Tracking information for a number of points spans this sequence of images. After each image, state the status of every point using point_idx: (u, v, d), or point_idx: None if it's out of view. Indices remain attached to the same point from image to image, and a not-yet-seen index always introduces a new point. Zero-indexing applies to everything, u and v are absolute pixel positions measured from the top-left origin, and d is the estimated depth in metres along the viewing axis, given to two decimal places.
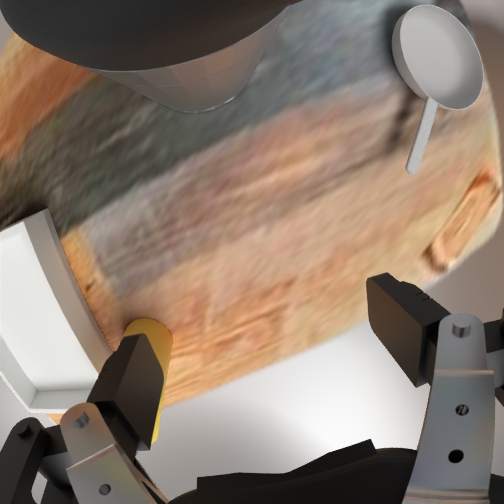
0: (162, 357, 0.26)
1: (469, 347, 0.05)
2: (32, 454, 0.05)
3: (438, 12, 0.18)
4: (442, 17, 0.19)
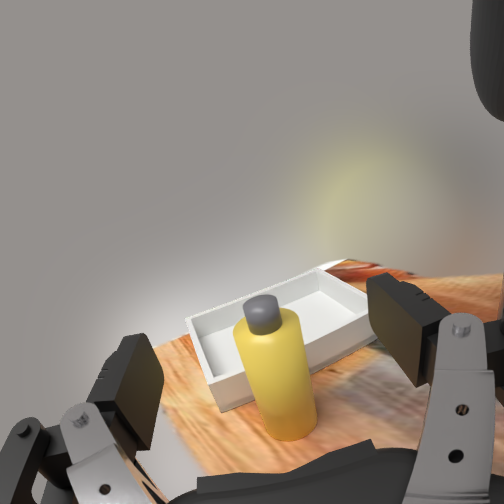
0: (302, 405, 0.24)
1: (469, 347, 0.05)
2: (32, 453, 0.05)
3: None
4: None
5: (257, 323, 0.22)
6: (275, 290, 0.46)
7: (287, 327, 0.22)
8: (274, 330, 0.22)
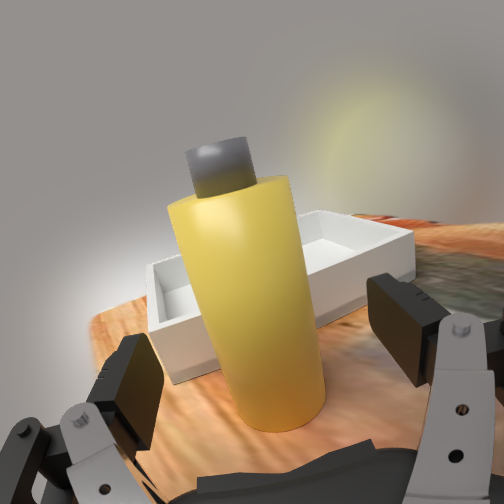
0: (299, 359, 0.13)
1: (469, 347, 0.05)
2: (32, 454, 0.05)
3: None
4: None
5: (207, 169, 0.11)
6: None
7: (265, 183, 0.12)
8: (239, 187, 0.12)
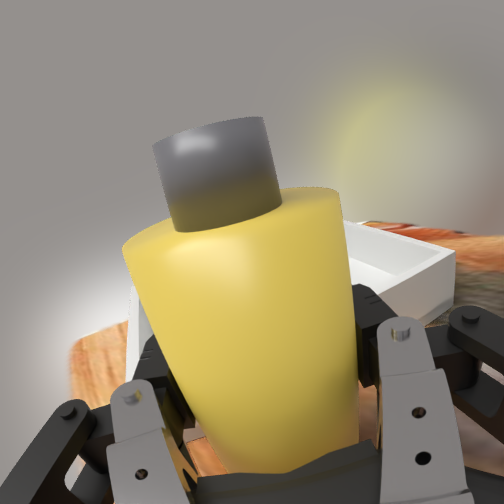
0: None
1: (403, 351, 0.06)
2: (73, 439, 0.05)
3: None
4: None
5: (189, 178, 0.06)
6: None
7: (301, 205, 0.06)
8: (252, 212, 0.06)
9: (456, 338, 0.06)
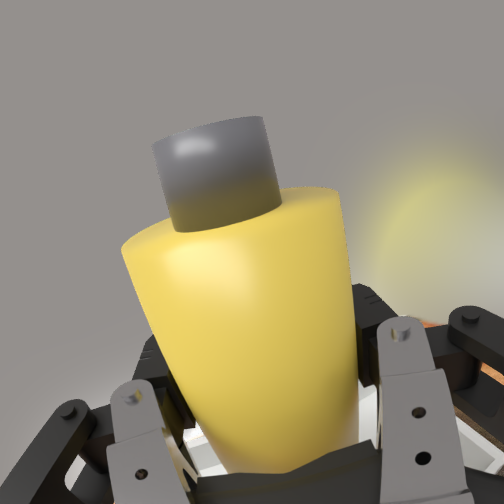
0: None
1: (403, 351, 0.06)
2: (73, 439, 0.05)
3: None
4: None
5: (188, 178, 0.06)
6: None
7: (301, 205, 0.06)
8: (252, 212, 0.06)
9: (456, 338, 0.06)
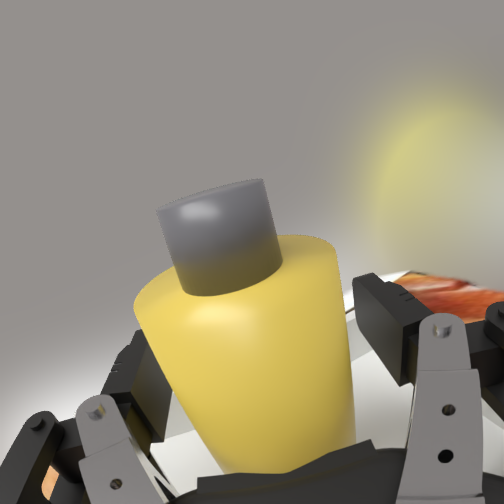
0: None
1: (448, 347, 0.05)
2: (45, 449, 0.05)
3: None
4: None
5: (194, 249, 0.06)
6: None
7: (301, 269, 0.07)
8: (254, 279, 0.07)
9: (491, 331, 0.06)
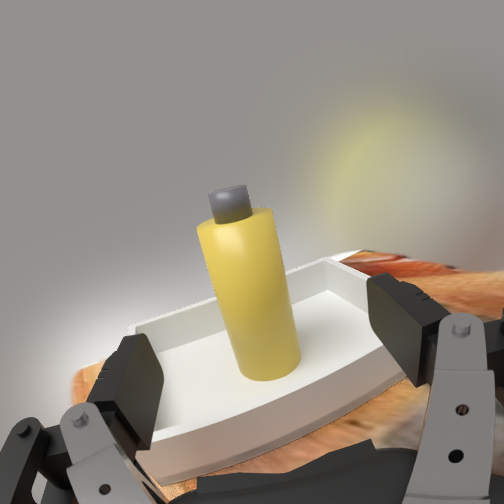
0: (279, 326, 0.21)
1: (469, 347, 0.05)
2: (32, 454, 0.05)
3: None
4: None
5: (222, 207, 0.19)
6: None
7: (258, 216, 0.20)
8: (242, 218, 0.20)
9: None
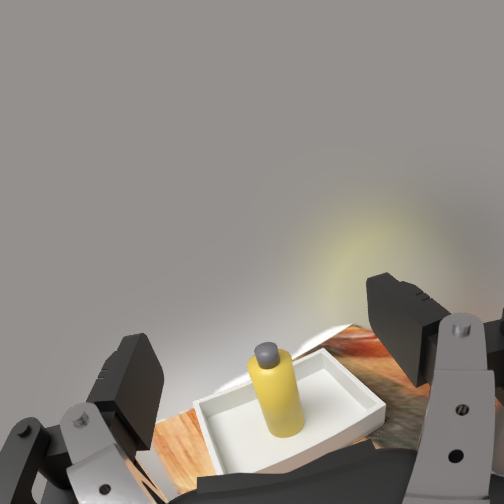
0: (293, 413, 0.35)
1: (469, 347, 0.05)
2: (32, 454, 0.05)
3: None
4: None
5: (264, 362, 0.33)
6: None
7: (283, 364, 0.33)
8: (274, 366, 0.33)
9: None
